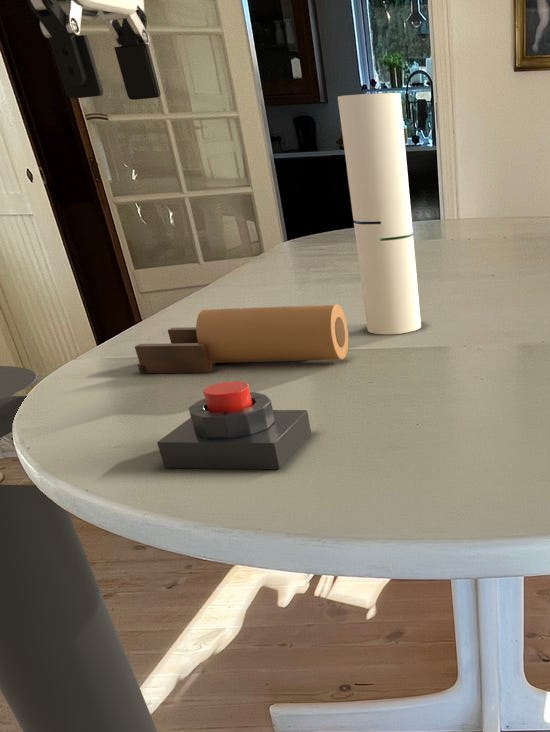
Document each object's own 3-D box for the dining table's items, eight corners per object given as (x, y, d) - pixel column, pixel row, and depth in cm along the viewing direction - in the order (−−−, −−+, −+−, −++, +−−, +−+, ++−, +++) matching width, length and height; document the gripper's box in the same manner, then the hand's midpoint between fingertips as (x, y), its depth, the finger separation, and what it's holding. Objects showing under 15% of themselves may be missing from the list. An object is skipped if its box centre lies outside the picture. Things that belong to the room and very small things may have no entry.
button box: (164, 468, 61) (149, 420, 58) (207, 433, 67) (195, 389, 65) (279, 469, 59) (269, 420, 57) (311, 434, 66) (303, 389, 63)
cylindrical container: (377, 321, 102) (350, 97, 87) (427, 321, 100) (408, 93, 86) (360, 334, 96) (328, 96, 82) (412, 334, 95) (389, 92, 80)
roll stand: (240, 352, 91) (234, 326, 90) (208, 373, 84) (201, 345, 82) (176, 352, 92) (169, 327, 91) (139, 373, 85) (131, 346, 83)
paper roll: (225, 355, 90) (351, 351, 88) (205, 369, 85) (337, 365, 83) (212, 304, 87) (343, 299, 84) (190, 315, 82) (328, 310, 80)
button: (201, 416, 60) (195, 394, 59) (219, 402, 63) (214, 381, 62) (242, 416, 59) (237, 394, 58) (259, 402, 62) (255, 381, 61)
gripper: (63, -138, 65) (130, 102, 75) (-88, -206, 51) (18, 100, 61) (141, -151, 63) (198, 95, 73) (7, -223, 50) (100, 92, 59)
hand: (117, 97), depth 67 cm, fingers open, 9 cm apart
